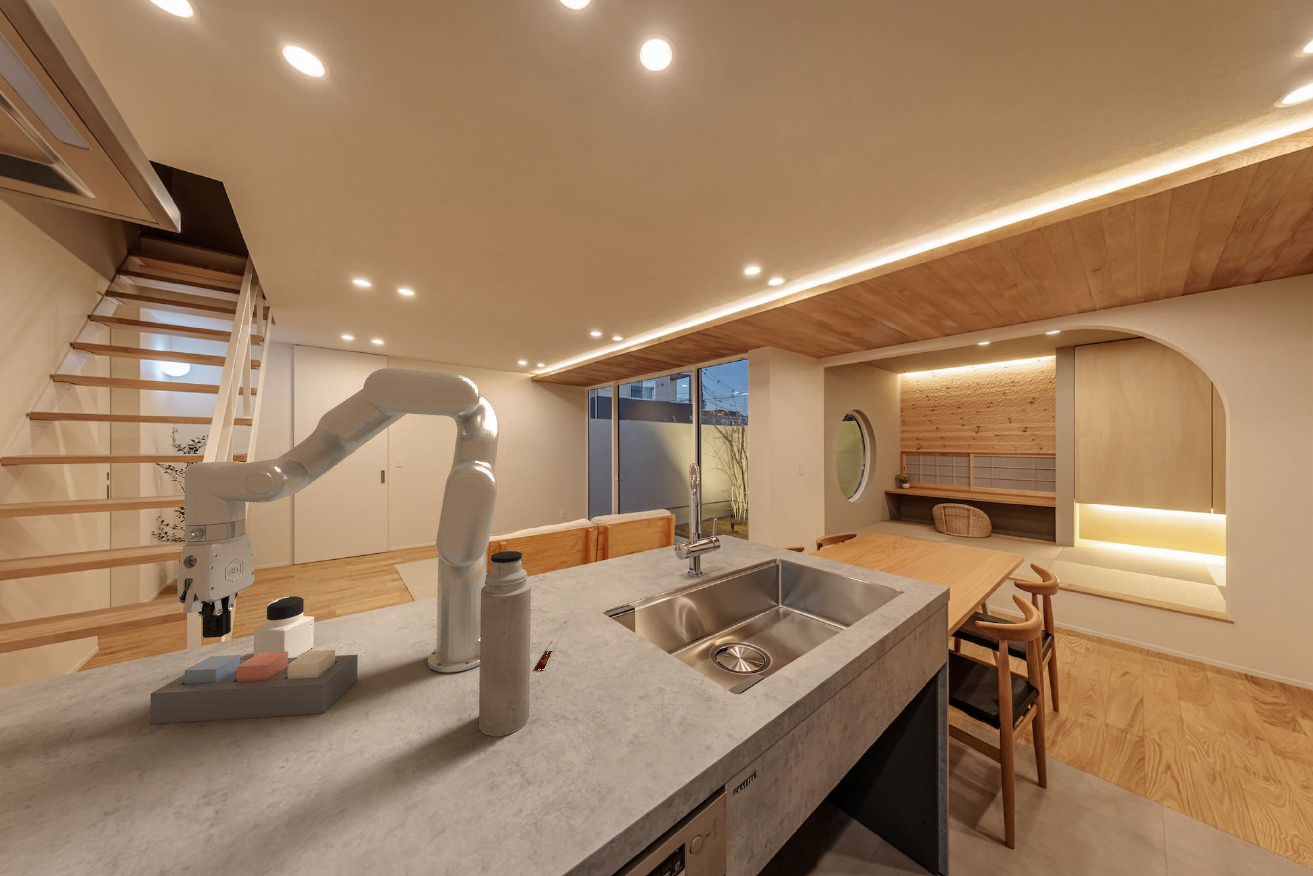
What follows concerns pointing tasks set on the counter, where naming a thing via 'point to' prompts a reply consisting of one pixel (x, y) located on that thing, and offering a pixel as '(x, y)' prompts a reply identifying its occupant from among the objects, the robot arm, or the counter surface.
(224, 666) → the slate-blue key
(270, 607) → the medicine bottle
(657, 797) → the counter surface
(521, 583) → the thermos bottle
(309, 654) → the off-white key
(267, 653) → the terracotta key
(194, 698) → the key panel
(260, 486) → the robot arm
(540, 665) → the red handled knife
